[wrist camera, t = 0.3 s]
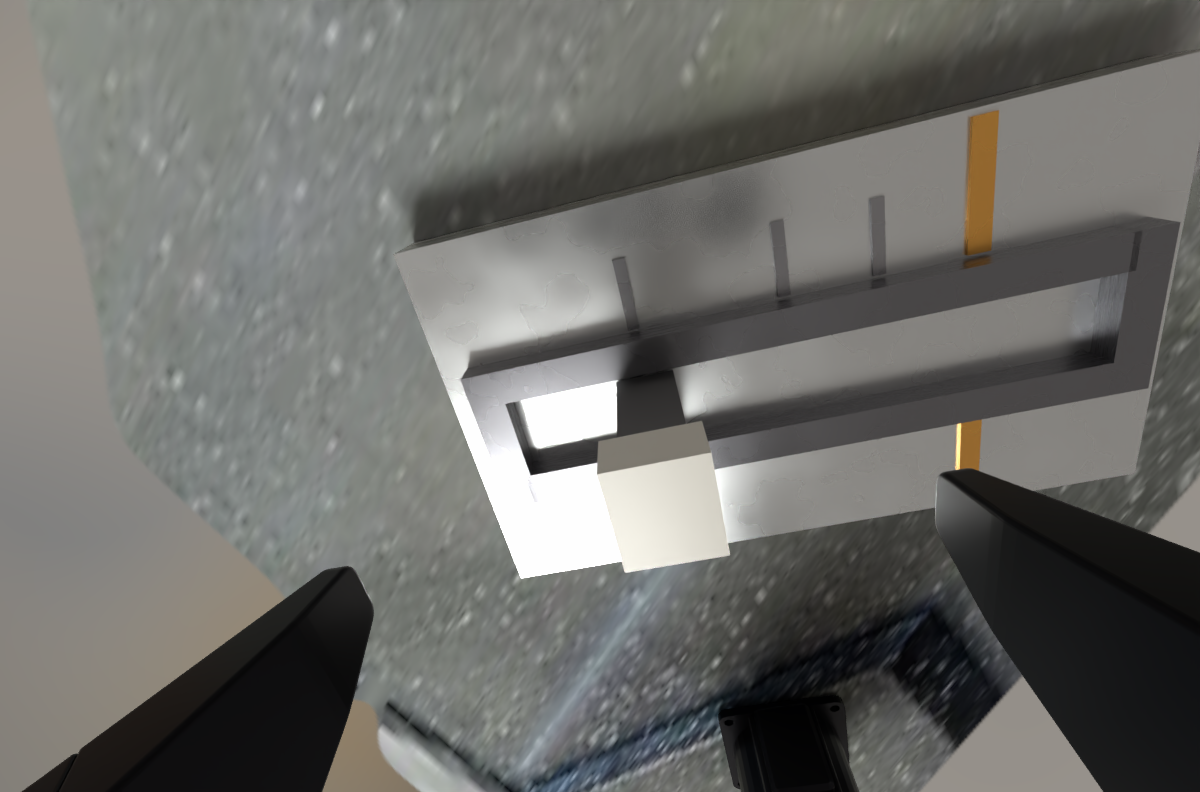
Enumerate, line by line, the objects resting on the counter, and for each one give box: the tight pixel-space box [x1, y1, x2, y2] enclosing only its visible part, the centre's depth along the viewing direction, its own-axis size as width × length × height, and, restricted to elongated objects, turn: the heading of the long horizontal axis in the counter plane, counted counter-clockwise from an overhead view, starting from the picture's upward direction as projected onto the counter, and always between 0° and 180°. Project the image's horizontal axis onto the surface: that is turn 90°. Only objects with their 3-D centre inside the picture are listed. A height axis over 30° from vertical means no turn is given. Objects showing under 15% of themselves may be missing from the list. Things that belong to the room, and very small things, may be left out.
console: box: [393, 49, 1200, 578], centre depth 20 cm, size 14×24×3 cm, turn 104°
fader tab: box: [597, 370, 730, 573], centre depth 17 cm, size 3×3×6 cm
